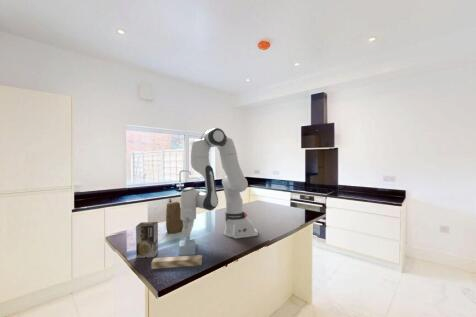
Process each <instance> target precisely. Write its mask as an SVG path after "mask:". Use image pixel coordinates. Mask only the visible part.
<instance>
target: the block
mask: <svg viewBox="0 0 476 317" xmlns="http://www.w3.org/2000/svg"><path fill="white" fill-rule="evenodd" d="M165 215H166V216H165V228H166V229H165V230H166V232H167V233H168V234H177V233H181V232H183V220H181V219H180V217H181V202H179V201H172V202H168V203H166V214H165Z"/></svg>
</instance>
